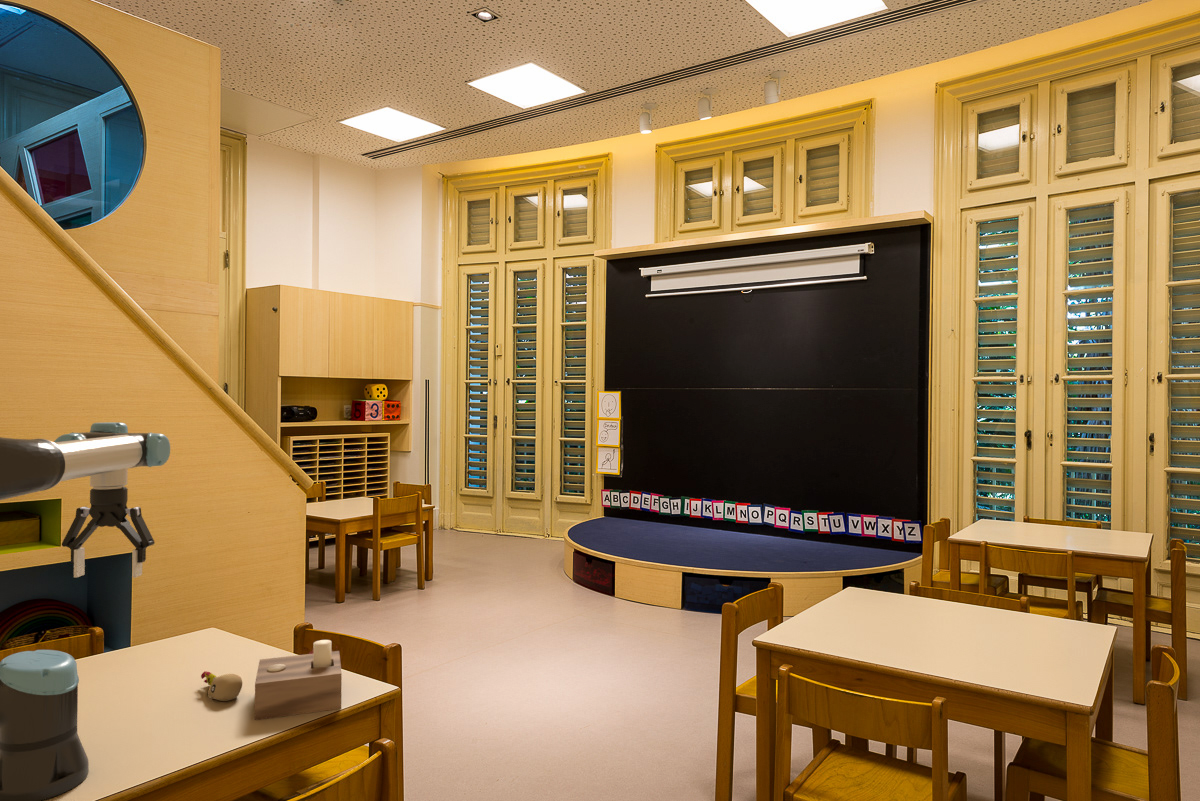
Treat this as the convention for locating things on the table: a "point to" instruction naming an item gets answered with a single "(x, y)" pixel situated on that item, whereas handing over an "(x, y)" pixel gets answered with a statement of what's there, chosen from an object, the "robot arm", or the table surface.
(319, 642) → the dowel
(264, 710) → the socket block
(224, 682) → the toy
